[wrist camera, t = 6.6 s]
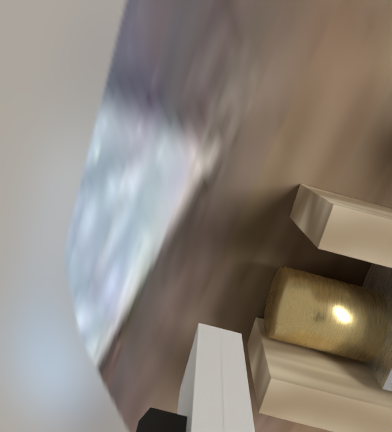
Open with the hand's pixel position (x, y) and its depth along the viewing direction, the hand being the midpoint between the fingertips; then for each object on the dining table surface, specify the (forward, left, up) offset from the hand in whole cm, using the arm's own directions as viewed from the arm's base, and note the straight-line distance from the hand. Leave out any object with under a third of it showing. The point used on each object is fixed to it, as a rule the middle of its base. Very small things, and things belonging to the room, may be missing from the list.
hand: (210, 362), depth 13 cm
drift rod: (0, +8, -12) cm, 14 cm away
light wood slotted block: (0, +8, -12) cm, 15 cm away
